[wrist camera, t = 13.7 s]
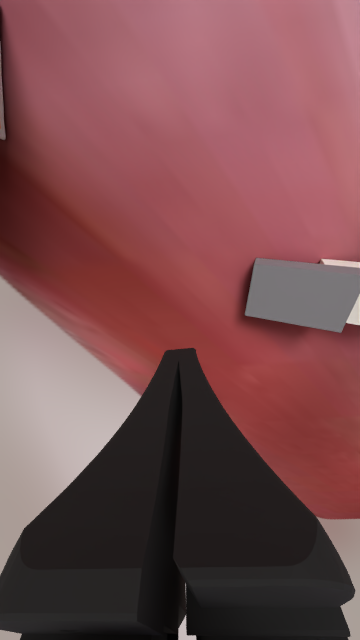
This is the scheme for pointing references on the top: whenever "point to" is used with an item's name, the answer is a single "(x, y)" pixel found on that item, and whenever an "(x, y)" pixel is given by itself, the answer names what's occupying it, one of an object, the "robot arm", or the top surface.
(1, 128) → the skincare box
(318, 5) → the top surface
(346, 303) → the charcoal domino
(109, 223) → the top surface
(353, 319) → the ivory domino
